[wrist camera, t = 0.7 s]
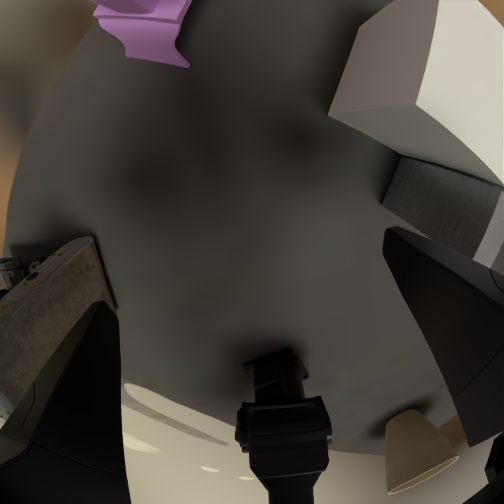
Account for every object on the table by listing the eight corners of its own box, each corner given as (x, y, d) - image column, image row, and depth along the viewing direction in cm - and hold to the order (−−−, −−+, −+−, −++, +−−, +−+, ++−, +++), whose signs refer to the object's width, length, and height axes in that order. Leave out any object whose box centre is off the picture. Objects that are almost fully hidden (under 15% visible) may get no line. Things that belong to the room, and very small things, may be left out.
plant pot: (391, 437, 46) (408, 489, 32) (356, 433, 42) (373, 497, 28) (441, 401, 41) (467, 454, 26) (414, 391, 37) (445, 460, 23)
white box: (402, 155, 21) (508, 189, 9) (327, 115, 20) (415, 104, 8) (431, 62, 17) (528, 48, 5) (362, 18, 15) (442, -40, 4)
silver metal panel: (399, 214, 23) (485, 277, 12) (381, 205, 23) (468, 268, 11) (445, 81, 17) (539, 79, 6) (429, 68, 17) (524, 55, 5)
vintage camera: (14, 239, 24) (-87, 331, 6) (100, 230, 24) (-41, 379, 6) (38, 303, 28) (-37, 403, 10) (124, 310, 28) (47, 464, 10)
